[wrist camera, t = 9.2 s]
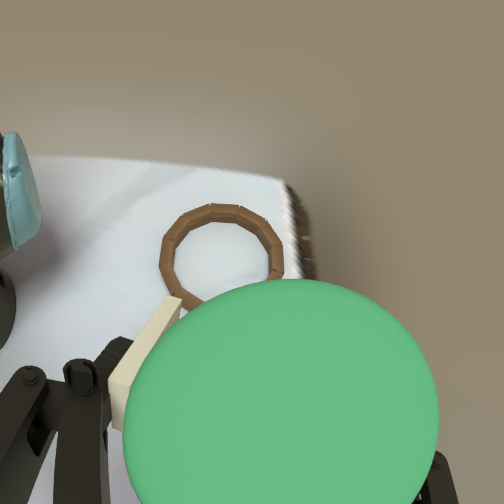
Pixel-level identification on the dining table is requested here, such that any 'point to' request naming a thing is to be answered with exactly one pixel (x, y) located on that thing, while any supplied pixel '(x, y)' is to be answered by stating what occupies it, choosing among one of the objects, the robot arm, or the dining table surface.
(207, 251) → the dining table surface
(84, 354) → the dining table surface
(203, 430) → the milk bottle
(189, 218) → the walnut ring
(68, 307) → the dining table surface
